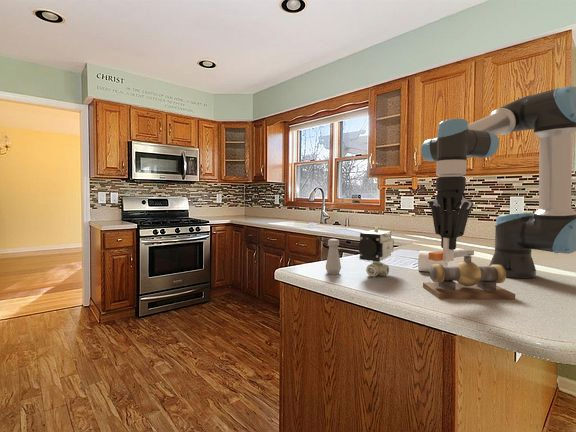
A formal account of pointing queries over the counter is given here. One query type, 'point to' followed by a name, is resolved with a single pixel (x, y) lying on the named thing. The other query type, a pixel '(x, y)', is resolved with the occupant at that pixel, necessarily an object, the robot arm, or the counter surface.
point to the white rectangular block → (427, 261)
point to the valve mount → (468, 281)
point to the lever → (457, 253)
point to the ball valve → (376, 250)
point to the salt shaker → (333, 258)
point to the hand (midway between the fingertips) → (448, 260)
